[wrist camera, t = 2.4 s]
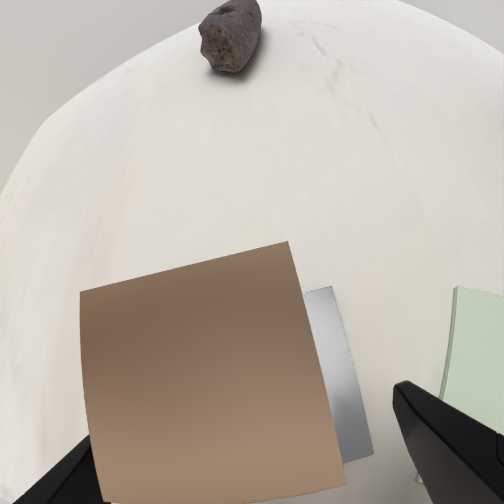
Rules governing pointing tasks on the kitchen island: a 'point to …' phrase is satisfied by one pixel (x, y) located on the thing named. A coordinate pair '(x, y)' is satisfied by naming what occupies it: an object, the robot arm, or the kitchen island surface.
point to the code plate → (338, 374)
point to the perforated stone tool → (231, 34)
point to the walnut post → (207, 385)
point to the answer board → (476, 358)
